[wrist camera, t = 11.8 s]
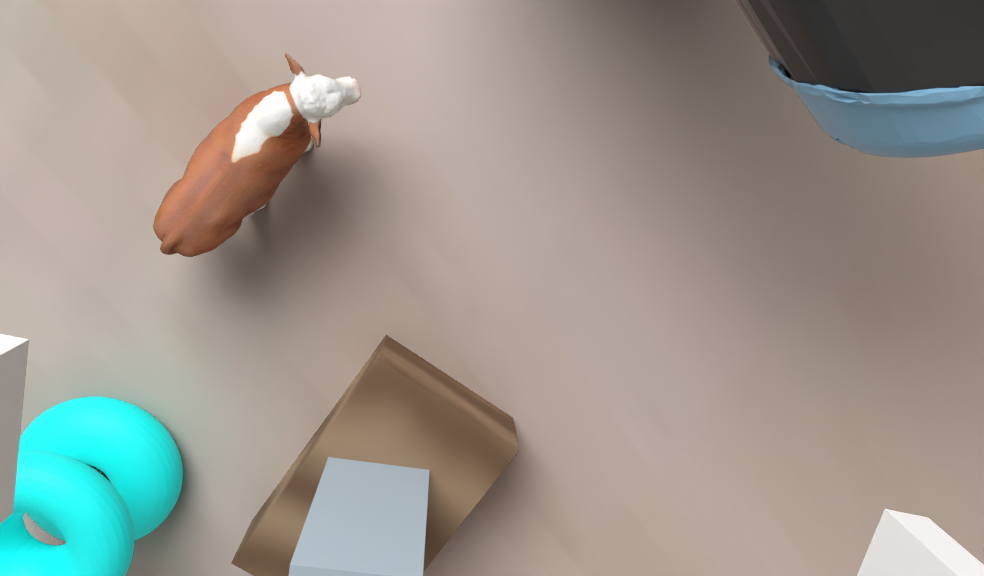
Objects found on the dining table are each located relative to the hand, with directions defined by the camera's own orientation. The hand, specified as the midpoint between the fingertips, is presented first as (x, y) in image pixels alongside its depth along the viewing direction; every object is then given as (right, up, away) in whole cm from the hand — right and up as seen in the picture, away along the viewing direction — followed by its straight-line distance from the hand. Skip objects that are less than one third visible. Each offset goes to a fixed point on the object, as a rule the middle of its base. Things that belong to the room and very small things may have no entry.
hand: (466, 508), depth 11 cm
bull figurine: (-12, +11, +30) cm, 35 cm away
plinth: (-7, -9, +36) cm, 38 cm away
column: (-7, -10, +31) cm, 34 cm away
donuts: (-24, -8, +35) cm, 43 cm away
